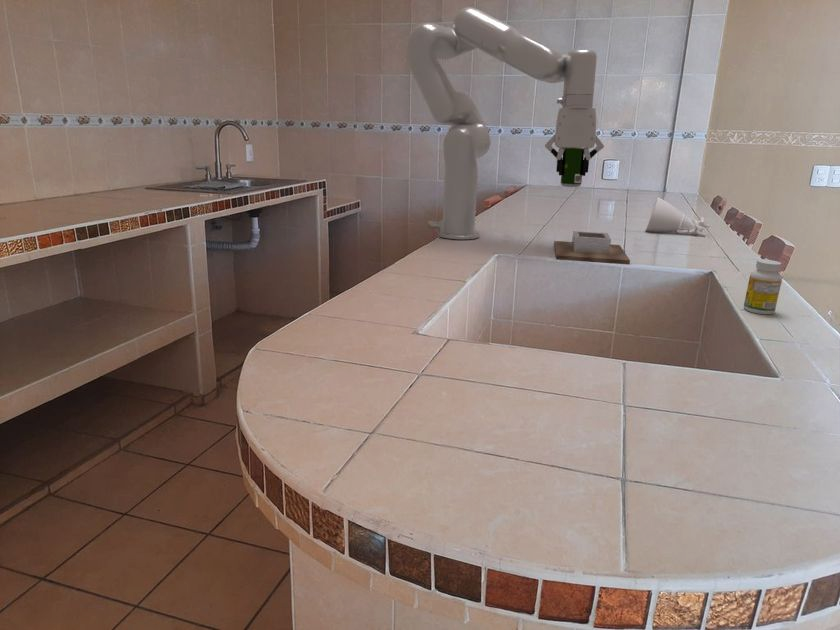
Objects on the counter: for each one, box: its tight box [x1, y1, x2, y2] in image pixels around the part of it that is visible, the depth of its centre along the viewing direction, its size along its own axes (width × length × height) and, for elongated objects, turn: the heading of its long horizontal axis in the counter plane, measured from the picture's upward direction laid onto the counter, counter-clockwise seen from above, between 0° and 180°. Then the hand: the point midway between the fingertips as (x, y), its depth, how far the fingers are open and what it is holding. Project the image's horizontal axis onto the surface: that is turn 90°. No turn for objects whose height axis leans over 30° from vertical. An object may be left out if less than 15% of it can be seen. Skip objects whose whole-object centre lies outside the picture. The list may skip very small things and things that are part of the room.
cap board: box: [553, 230, 631, 265], centre depth 160 cm, size 18×20×5 cm
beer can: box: [560, 148, 585, 188], centre depth 158 cm, size 5×5×12 cm
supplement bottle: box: [743, 259, 783, 315], centre depth 113 cm, size 5×5×10 cm
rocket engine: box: [644, 197, 711, 237], centre depth 194 cm, size 12×12×18 cm
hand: (571, 174), depth 159 cm, fingers closed on beer can, 5 cm apart
